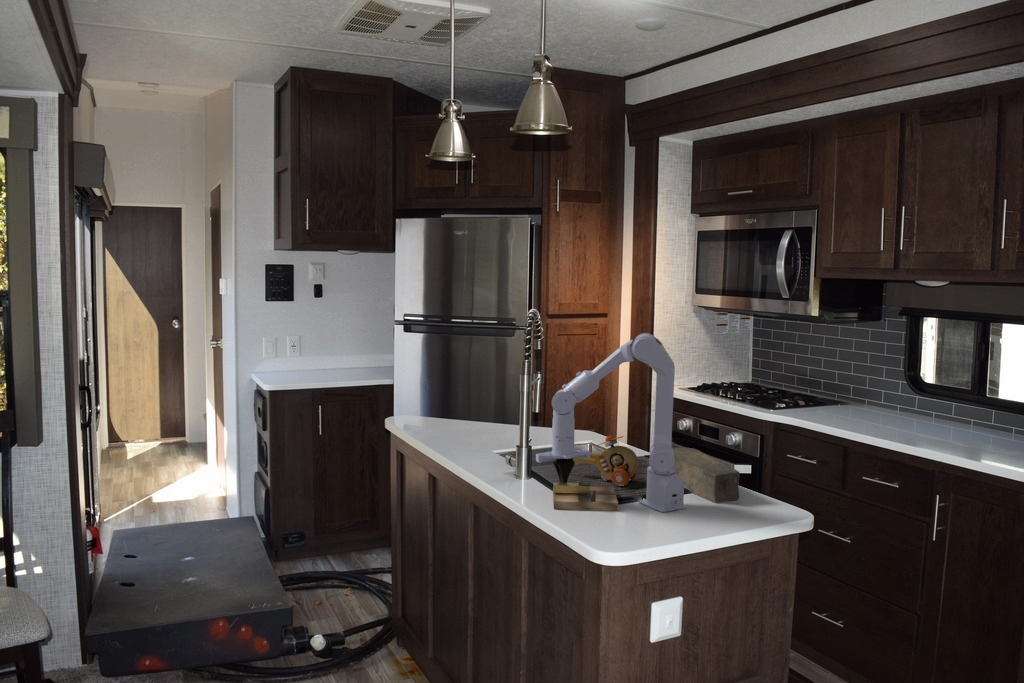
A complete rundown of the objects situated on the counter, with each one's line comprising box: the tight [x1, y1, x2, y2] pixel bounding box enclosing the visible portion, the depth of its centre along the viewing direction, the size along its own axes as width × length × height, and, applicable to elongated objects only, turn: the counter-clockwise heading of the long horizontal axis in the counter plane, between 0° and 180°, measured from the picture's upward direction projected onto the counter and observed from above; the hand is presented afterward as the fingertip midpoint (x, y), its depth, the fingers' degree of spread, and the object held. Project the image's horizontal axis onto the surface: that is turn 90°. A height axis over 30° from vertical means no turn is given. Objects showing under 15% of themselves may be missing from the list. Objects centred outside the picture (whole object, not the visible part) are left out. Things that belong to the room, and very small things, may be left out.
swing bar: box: [552, 480, 592, 493], centre depth 213 cm, size 10×3×3 cm, turn 88°
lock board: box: [552, 485, 619, 512], centre depth 214 cm, size 16×14×5 cm
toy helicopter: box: [573, 435, 639, 486], centre depth 233 cm, size 8×21×14 cm, turn 60°
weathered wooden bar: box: [673, 447, 741, 504], centre depth 227 cm, size 10×26×10 cm, turn 24°
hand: (562, 486), depth 216 cm, fingers closed, pressing on swing bar
